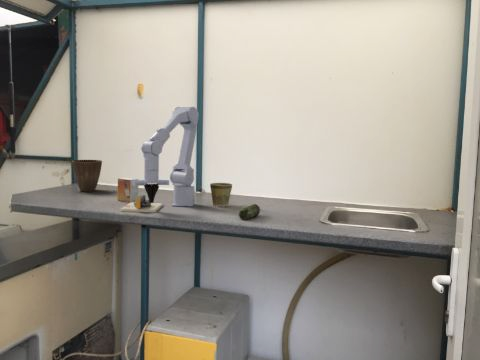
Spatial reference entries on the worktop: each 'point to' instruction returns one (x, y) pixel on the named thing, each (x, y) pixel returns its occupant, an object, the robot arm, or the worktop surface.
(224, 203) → the ceramic cup
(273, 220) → the worktop surface
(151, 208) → the console plate
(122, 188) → the small box
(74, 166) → the plant pot
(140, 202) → the lever door handle
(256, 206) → the vegetable
